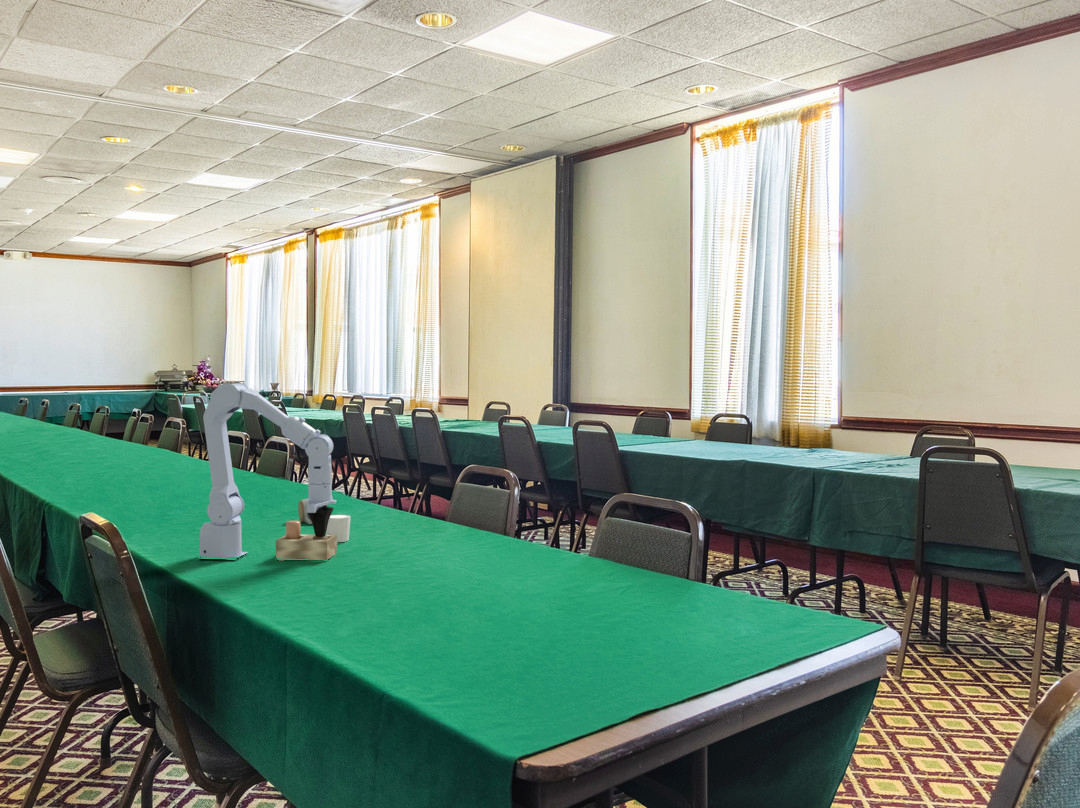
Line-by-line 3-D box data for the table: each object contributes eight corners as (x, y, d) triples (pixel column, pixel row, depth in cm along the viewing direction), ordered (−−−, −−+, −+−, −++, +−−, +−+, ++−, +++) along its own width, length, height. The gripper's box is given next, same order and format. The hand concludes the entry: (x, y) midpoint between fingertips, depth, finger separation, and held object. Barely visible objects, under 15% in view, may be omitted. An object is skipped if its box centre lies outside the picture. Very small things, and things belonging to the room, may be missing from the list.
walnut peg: (311, 556, 213) (310, 537, 213) (315, 553, 217) (315, 534, 217) (325, 556, 213) (325, 537, 213) (329, 553, 217) (329, 535, 216)
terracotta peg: (283, 541, 213) (283, 522, 213) (288, 539, 217) (288, 520, 217) (297, 542, 213) (297, 523, 213) (302, 539, 217) (302, 520, 217)
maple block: (275, 560, 212) (275, 540, 211) (287, 553, 219) (287, 534, 219) (327, 561, 211) (327, 541, 211) (336, 554, 219) (336, 535, 218)
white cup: (354, 539, 238) (354, 514, 238) (346, 544, 231) (346, 518, 231) (330, 538, 239) (330, 513, 238) (321, 543, 232) (321, 518, 232)
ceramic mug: (297, 520, 266) (297, 496, 265) (323, 518, 269) (323, 494, 269) (304, 527, 256) (303, 501, 256) (331, 524, 260) (331, 500, 259)
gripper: (326, 487, 207) (327, 542, 207) (344, 479, 221) (344, 531, 222) (298, 486, 207) (298, 542, 208) (317, 479, 221) (317, 530, 222)
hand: (320, 536), depth 215 cm, fingers closed, pressing on walnut peg
